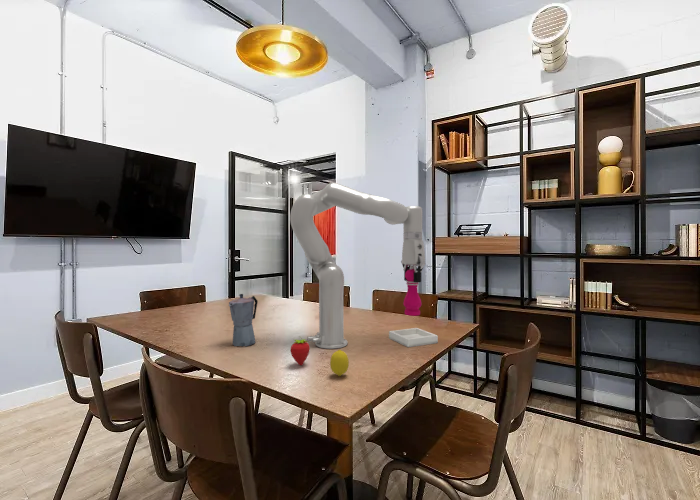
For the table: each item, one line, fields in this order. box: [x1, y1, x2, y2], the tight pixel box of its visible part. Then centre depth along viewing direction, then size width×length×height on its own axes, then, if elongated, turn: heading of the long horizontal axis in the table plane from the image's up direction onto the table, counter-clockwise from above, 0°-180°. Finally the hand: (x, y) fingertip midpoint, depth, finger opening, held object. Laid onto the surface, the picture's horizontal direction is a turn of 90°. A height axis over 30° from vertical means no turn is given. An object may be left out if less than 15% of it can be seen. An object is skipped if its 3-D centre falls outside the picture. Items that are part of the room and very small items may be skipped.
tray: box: [388, 327, 439, 348], centre depth 145 cm, size 14×14×3 cm
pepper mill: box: [403, 265, 422, 317], centre depth 144 cm, size 7×7×20 cm
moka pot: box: [228, 293, 258, 348], centre depth 141 cm, size 10×15×20 cm, turn 158°
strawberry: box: [290, 337, 311, 367], centre depth 116 cm, size 6×8×10 cm
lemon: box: [329, 349, 350, 377], centre depth 106 cm, size 6×6×8 cm
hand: (412, 281), depth 144 cm, fingers closed on pepper mill, 5 cm apart
